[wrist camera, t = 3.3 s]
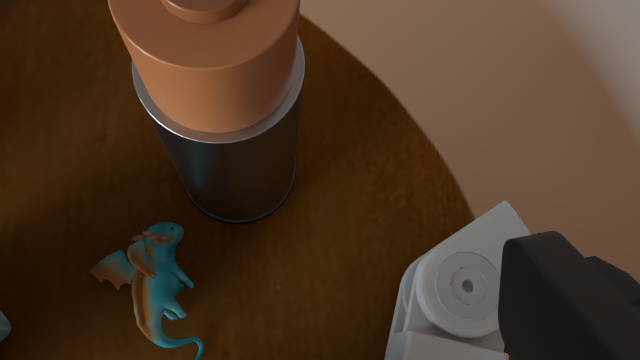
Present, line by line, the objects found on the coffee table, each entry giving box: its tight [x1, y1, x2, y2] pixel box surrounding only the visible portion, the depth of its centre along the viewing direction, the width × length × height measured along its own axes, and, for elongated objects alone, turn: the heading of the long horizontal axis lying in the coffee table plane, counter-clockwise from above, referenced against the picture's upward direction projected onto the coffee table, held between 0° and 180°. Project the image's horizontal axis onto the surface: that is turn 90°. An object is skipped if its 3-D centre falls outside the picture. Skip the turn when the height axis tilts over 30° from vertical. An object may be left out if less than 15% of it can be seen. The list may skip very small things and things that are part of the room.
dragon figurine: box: [89, 222, 203, 360], centre depth 33 cm, size 6×7×8 cm
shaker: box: [132, 35, 305, 224], centre depth 30 cm, size 7×7×14 cm
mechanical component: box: [384, 200, 532, 360], centre depth 33 cm, size 5×8×10 cm
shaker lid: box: [108, 0, 300, 133], centre depth 21 cm, size 6×6×6 cm
